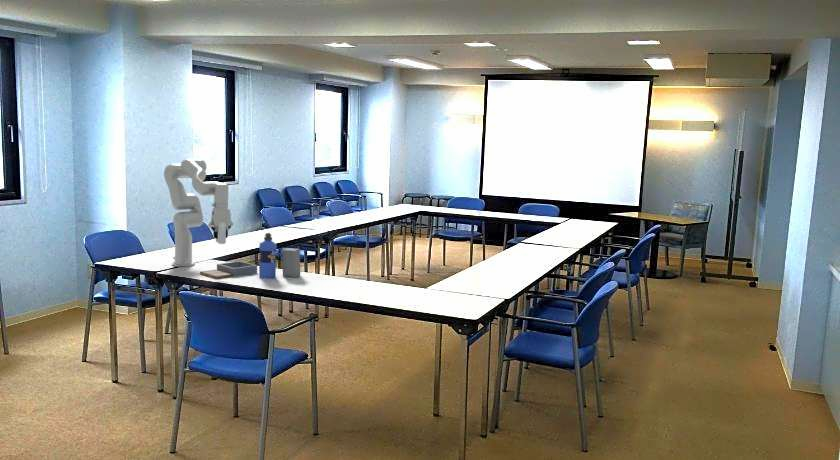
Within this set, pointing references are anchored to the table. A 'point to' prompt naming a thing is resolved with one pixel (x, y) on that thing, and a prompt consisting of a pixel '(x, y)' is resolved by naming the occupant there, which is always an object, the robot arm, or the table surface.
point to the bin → (237, 268)
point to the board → (216, 274)
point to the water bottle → (267, 258)
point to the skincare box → (291, 262)
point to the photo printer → (221, 233)
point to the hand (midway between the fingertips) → (220, 237)
